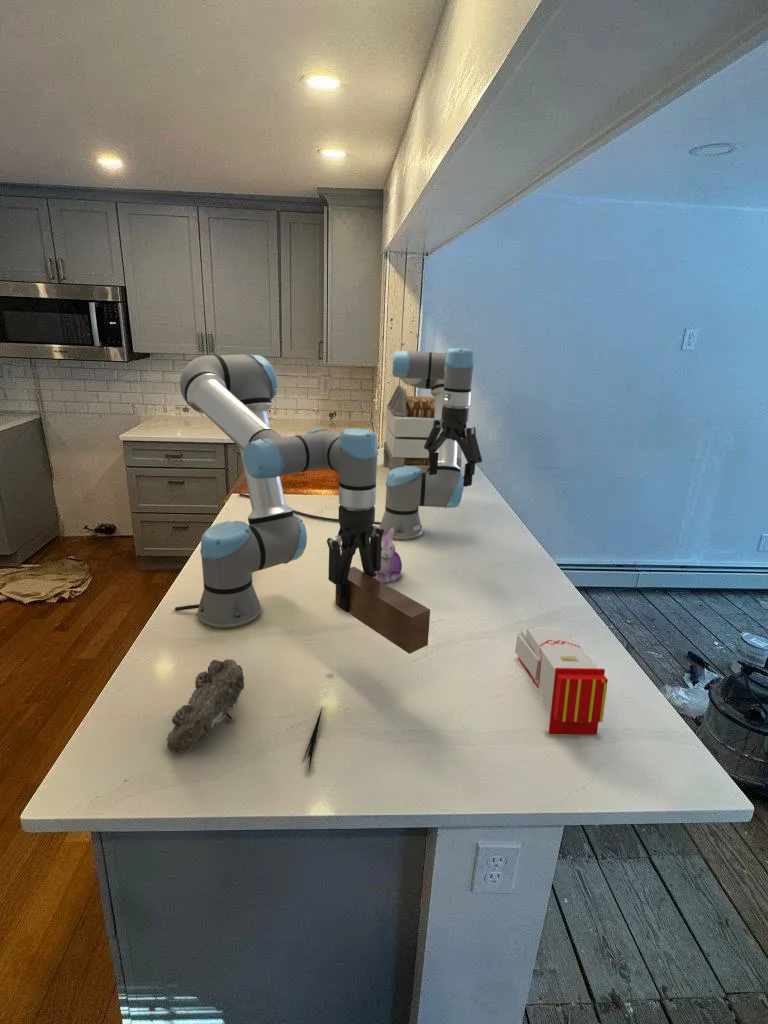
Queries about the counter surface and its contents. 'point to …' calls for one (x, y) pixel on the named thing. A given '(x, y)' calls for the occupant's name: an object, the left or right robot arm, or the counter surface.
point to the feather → (313, 740)
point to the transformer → (409, 430)
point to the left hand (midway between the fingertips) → (354, 605)
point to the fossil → (206, 705)
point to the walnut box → (387, 611)
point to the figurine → (389, 560)
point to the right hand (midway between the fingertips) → (449, 479)
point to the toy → (564, 680)
